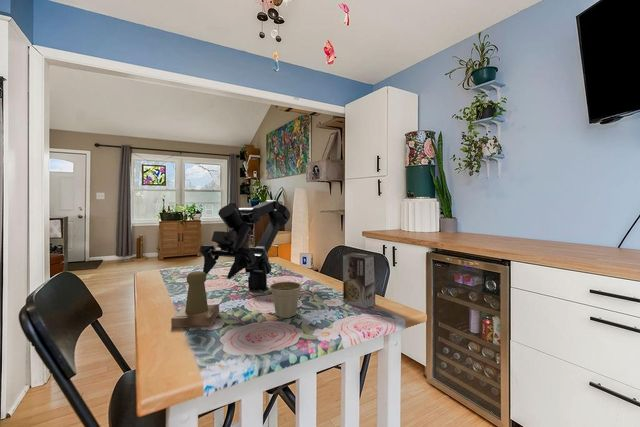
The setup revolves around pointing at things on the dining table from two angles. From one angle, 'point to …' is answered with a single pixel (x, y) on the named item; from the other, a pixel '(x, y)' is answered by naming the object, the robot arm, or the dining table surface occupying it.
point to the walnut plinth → (195, 318)
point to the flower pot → (285, 298)
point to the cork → (196, 293)
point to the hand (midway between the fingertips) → (215, 276)
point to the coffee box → (359, 279)
